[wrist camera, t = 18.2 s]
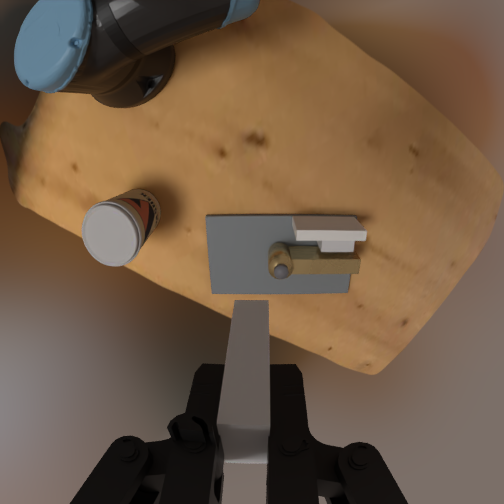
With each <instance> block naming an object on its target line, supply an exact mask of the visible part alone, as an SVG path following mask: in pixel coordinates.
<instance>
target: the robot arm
mask: <svg viewBox="0 0 504 504" xmlns="http://www.w3.org/2000/svg"><path fill="white" fill-rule="evenodd" d="M259 1H260V0H39V1H38V2H37V4H35V6H34V7H33V8H32V9H31V11H30V12H29V14H28V15H27V17H26V19H25V20H24V22H23V24H22V26H21V30H20V33H19V35H18V37H17V40H16V45H15V52H14V63H15V69H16V72H17V75H18V77H19V79H20V80H21V82H22V83H23V84H24V85H25V86H27V87H28V88H31V89H33V90H39V91H44V92H46V93H55V92H67V93H82V94H91V95H92V96H93V97H94V98H95V99H96V100H97V101H98V102H100V103H101V104H103V105H106V106H109V107H113V108H131V107H135V106H138V105H141V104H143V103H145V102H147V101H149V100H150V99H152V98H153V97H154V96H155V95H157V94H158V93H159V92H160V91H161V89H162V88H163V87H164V86H165V84H166V83H167V81H168V80H169V78H170V76H171V73H172V71H173V67H174V63H175V50H174V45H173V44H175V43H178V42H180V41H183V40H185V39H188V38H191V37H193V36H196V35H199V34H202V33H205V32H207V31H210V30H214V29H221V28H223V27H225V26H226V25H228V24H230V23H233V22H236V21H240V20H243V19H246V18H248V17H249V16H251V15H252V14H253V13H254V12H255V11H256V10H257V8H258V5H259ZM167 428H168V431H169V433H170V435H171V438H169V439H166V440H162V441H155V442H146V443H145V442H144V441H142V440H141V439H140V438H138V437H134V436H123V437H120V438H118V439H116V440H115V441H114V442H113V443H112V444H111V446H110V447H109V448H108V450H107V451H106V453H105V454H104V455H103V457H102V458H101V460H100V461H99V463H98V464H97V465H96V467H95V468H94V470H93V471H92V473H91V474H90V475H89V477H88V478H87V480H86V481H85V482H84V484H83V485H82V487H81V488H80V490H79V491H78V492H77V494H76V495H75V497H74V498H73V500H72V501H71V502H70V504H221V501H222V492H223V481H224V473H223V464H224V461H225V462H229V463H259V464H260V463H262V464H263V463H265V464H267V481H266V485H267V492H266V493H267V496H266V504H319V499H318V496H323V497H325V499H326V501H327V504H408V503H407V501H406V499H405V497H404V495H403V494H402V492H401V490H400V488H399V487H398V485H397V483H396V481H395V480H394V478H393V476H392V474H391V472H390V471H389V469H388V467H387V465H386V464H385V462H384V460H383V458H382V456H381V455H380V453H379V451H378V450H377V449H376V448H375V447H374V446H372V445H370V444H368V443H363V442H356V443H351V444H349V445H348V446H346V447H344V448H341V447H336V446H330V445H326V444H323V443H321V442H319V441H317V440H316V439H315V438H314V437H313V436H312V435H311V433H310V431H309V428H308V419H307V410H306V402H305V395H304V387H303V377H302V373H301V371H300V370H299V368H298V367H297V366H296V364H272V365H270V358H269V304H268V300H235V302H234V309H233V315H232V322H231V329H230V335H229V342H228V349H227V355H226V362H225V365H222V364H202V365H201V366H200V367H199V368H198V370H197V371H196V372H195V375H194V379H193V383H192V387H191V391H190V395H189V399H188V403H187V408H186V412H185V413H183V414H181V415H178V416H176V417H175V418H174V419H172V420H171V421H170V423H169V425H168V427H167Z"/></svg>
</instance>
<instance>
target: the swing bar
mask: <svg viewBox="0 0 504 504" xmlns="http://www.w3.org/2000/svg"><path fill="white" fill-rule="evenodd" d="M360 262H361V259H360V257H359V256H358V254H357V253H356V251H355V250H354V251H353V252H321V250H320V248H319V246H289V247H288V246H287V245H286V244H284V243H280V242H279V243H274V244H273V245H271V246H270V248H269V250H268V270H269V273H270V275H271V276H272V277H273V278H275V279H277V278H276V277H275V275H274V268H275V266H276V265H277V264H285V265H286V266H287V267H288V272H289V274H288V276H287V277H286V278H288V277H289V276H290V275H291V274H359V268H360ZM286 278H285V279H286ZM279 280H282V279H279Z"/></svg>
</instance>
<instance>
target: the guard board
mask: <svg viewBox="0 0 504 504" xmlns="http://www.w3.org/2000/svg"><path fill="white" fill-rule="evenodd" d="M206 230H207V244H208V256H209V268H210V279H211V289H212V294H320V293H348V287H349V280H350V274H291V275H290V276H289V277H288V278H286V277H287V276H288V274H289V272H288V267H287V266H286V265H285V264H277V265H276V266H275V268H274V275H275V277H276V278H277V279H275V278H273V277H272V276H271V275H270V273H269V270H268V250H269V248H270V246H271V245H273V244H274V243H279V242H280V243H284V244H286V245H287V246H288V247H289V246H319V248H320V250H321V252H353V251H354V243H355V241H366V234H367V230H366V229H365V228H364V227H363V226H362V225H361V224H360V223H359V222H358V220H357V216H356V215H324V214H225V215H206ZM285 278H286V279H285ZM279 279H282V280H279Z"/></svg>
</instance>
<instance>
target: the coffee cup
mask: <svg viewBox="0 0 504 504" xmlns="http://www.w3.org/2000/svg"><path fill="white" fill-rule="evenodd" d="M160 215H161V211H160V206H159V203H158V201H157V199H156V198H155V197H154V196H153V195H152V194H151V193H149V192H148V191H145V190H142V189H135V190H131V191H128V192H126V193H123V194H121V195H118V196H116V197H113V198H111V199H108V200H106V201H103V202H99V203H97V204H95V205H94V206H92V207H91V208H90V209H89V210H88V212H87V213H86V215H85V217H84V220H83V224H82V237H83V241H84V243H85V246H86V248H87V250H88V251H89V253H90V254H91V255H92V256H93V257H94V258H95V259H96V260H97V261H99V262H101V263H103V264H105V265H108V266H122V265H125V264H128V263H129V262H131V261H132V260H133V259H134V258H135V257H136V256H137V254H138V252H139V250H140V249H141V247H142V246H143V245H144V243H145V242H146V240H147V239H148V238H149V236H150V235H151V233H152V232H153V230H154V229H155V228H156V226H157V224H158V223H159V220H160Z"/></svg>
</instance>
